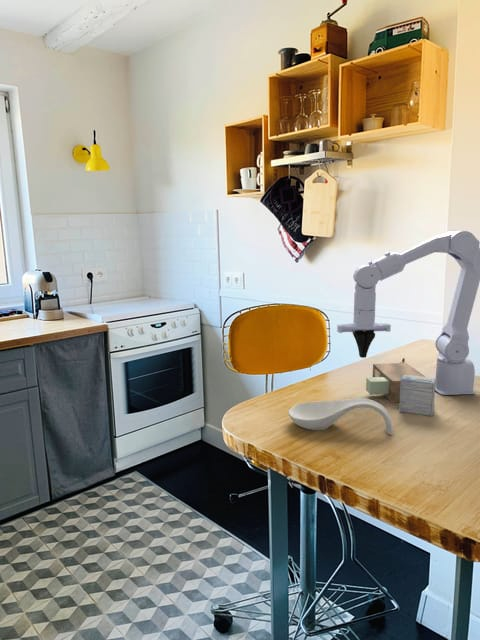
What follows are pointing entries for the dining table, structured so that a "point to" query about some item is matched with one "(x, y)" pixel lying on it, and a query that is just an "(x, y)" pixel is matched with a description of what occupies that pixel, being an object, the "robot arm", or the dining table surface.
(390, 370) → the walnut block
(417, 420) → the dining table surface
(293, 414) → the spoon rest
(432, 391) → the medicine box
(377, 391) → the sage bar
